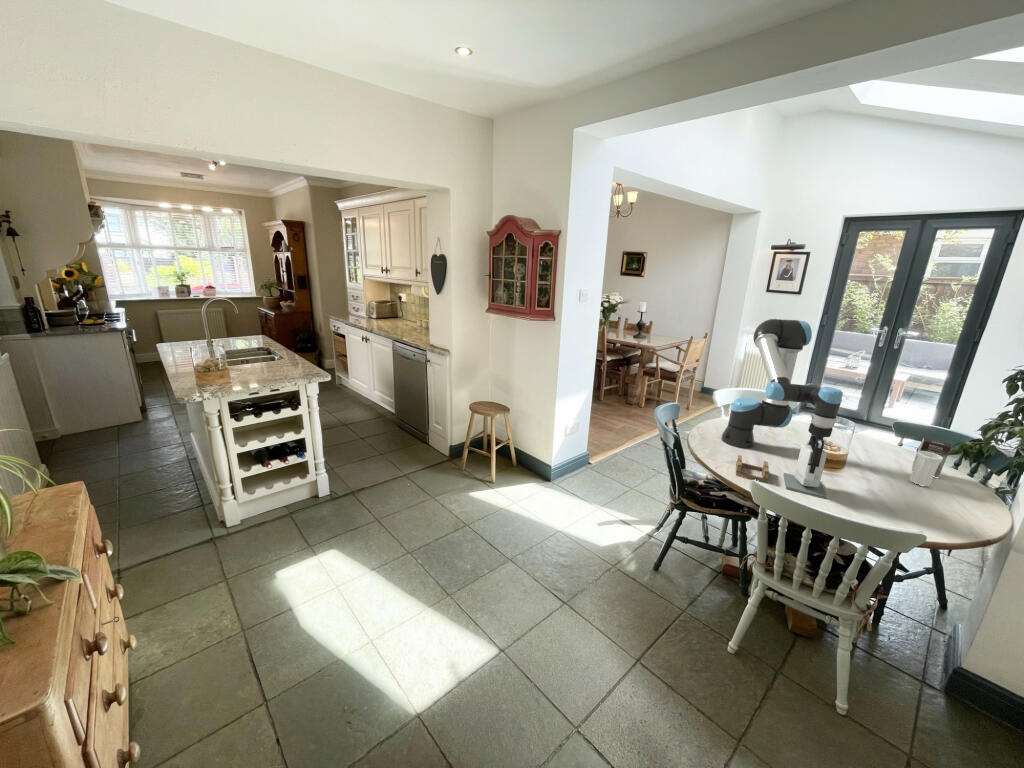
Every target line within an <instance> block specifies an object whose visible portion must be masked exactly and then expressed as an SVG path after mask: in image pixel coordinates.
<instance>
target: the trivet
mask: <svg viewBox="0 0 1024 768" xmlns="http://www.w3.org/2000/svg"><path fill="white" fill-rule="evenodd" d="M782 474H783V481H784V485H785V490H788V491H793V492H797V493H800V494H805V495H809V496H813V497H816V498H817V497H818V498H821V499H824V500H827V498H828V495H827V492H826V490H825V487H824V485H823V481H822V480H820V484H819V487H811V486H804V485H802V484H801V483H800V482H799V481H798V480H797V479H796V478H795V477H794V475H795V474H792V473H786V472H783V473H782Z"/></svg>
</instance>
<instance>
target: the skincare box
mask: <svg viewBox="0 0 1024 768" xmlns="http://www.w3.org/2000/svg"><path fill="white" fill-rule="evenodd" d="M812 453H813V451H812V448H811V446H810V445H808V444H803V443H802V444H801V446H800V450H799V455H798V459H797V463H796V467H795V472H794V474H793V475H794V477H795V478H796V479H797V480H798V481H799V482H800V483H801V484H802V485H804V486H811V487H819V484H820V481H822V476H823V471H824V467H825V464H826V459H827V457H828V452H826V451H825V450H824V449H823V450H822V455H821V459H820V463H819V467H817V469H816V472H815V476H814V479H813V481H812V480H808V479H805V476H806V473H807V469H808V466H809V465H808V463H809V464H810V461H811V456H812ZM815 464H816V463H815Z"/></svg>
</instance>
